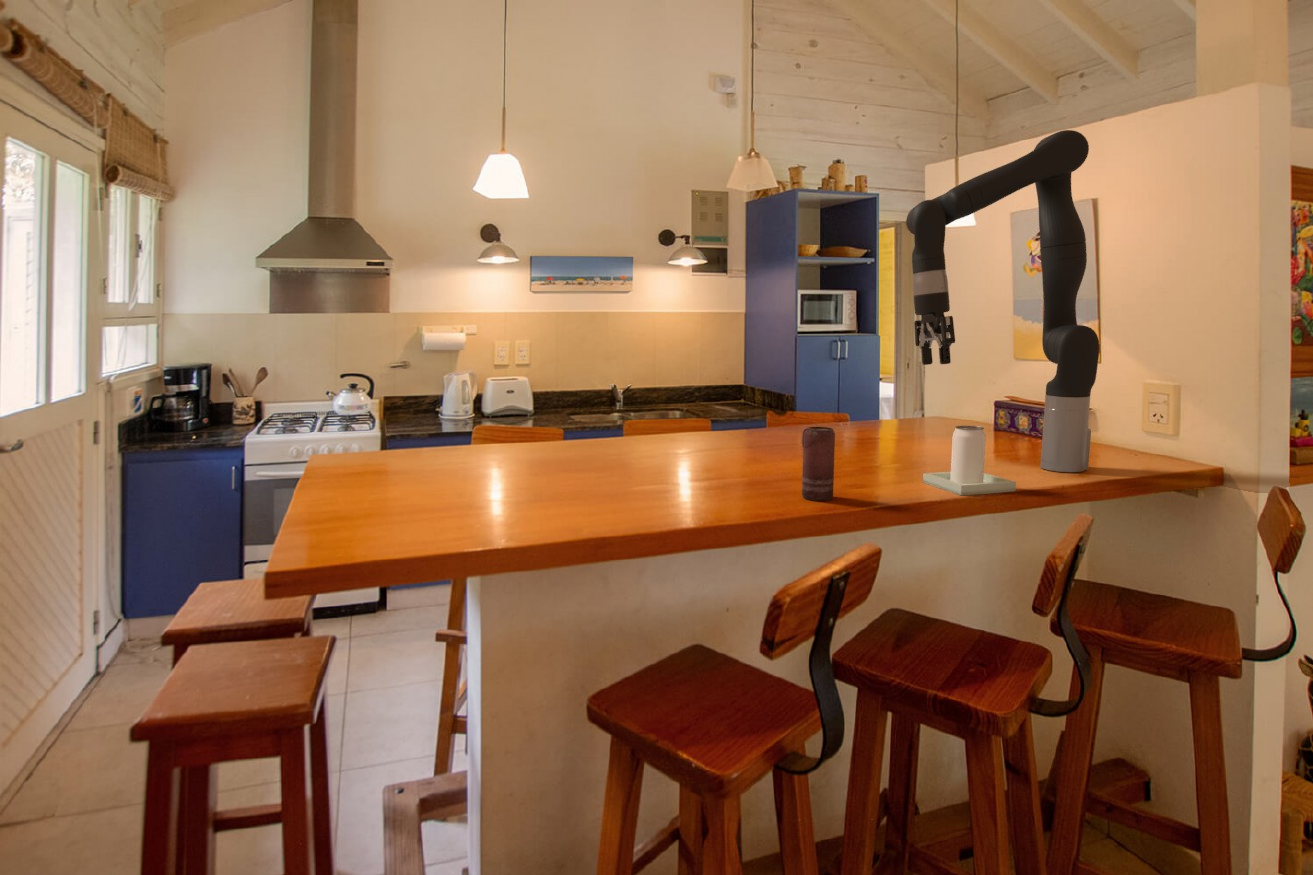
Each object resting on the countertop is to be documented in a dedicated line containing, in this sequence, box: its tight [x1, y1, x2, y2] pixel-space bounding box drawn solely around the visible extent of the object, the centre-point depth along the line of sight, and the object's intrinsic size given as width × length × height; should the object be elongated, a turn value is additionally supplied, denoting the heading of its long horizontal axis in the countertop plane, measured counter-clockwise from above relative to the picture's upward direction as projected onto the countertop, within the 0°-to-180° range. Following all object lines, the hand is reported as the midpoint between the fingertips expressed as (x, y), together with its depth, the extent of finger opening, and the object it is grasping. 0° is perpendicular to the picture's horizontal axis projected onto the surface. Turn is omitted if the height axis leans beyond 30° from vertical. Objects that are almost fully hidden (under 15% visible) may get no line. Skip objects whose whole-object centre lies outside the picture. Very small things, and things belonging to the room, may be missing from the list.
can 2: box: [950, 425, 987, 484], centre depth 170 cm, size 6×6×12 cm
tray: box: [922, 471, 1017, 496], centre depth 171 cm, size 13×13×2 cm
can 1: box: [801, 426, 836, 502], centre depth 161 cm, size 6×6×14 cm
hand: (936, 364), depth 185 cm, fingers open, 8 cm apart
